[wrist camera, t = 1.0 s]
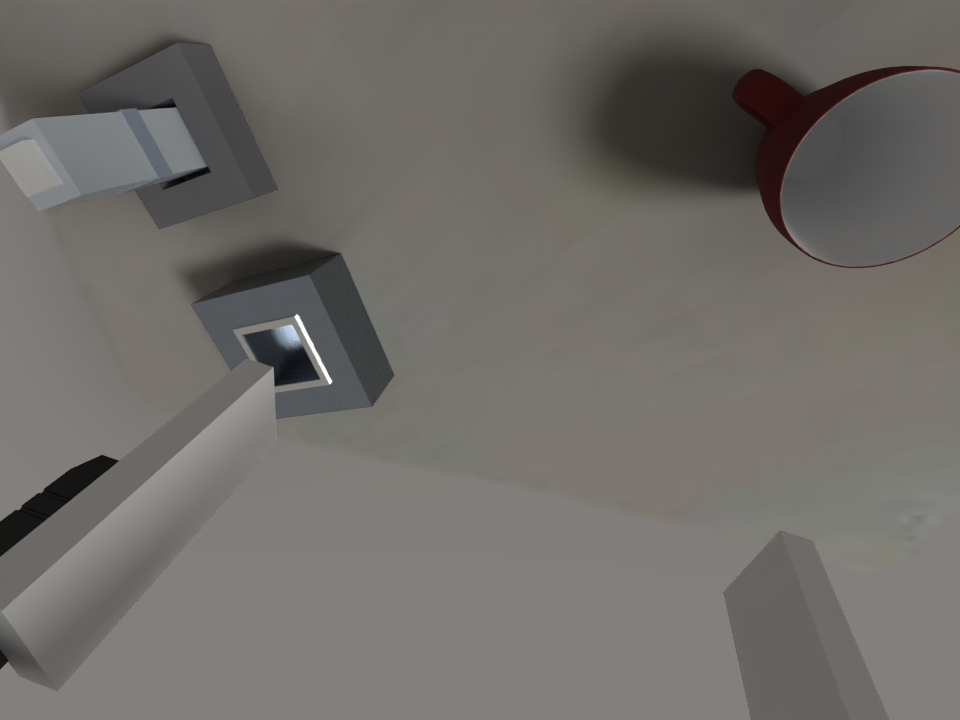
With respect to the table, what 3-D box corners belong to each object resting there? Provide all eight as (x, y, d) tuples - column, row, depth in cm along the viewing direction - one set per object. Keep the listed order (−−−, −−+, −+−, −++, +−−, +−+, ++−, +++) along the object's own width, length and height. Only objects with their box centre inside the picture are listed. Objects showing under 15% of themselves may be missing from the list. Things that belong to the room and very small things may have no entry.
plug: (157, 121, 36) (-27, 141, 26) (197, 103, 35) (20, 116, 24) (187, 177, 38) (27, 216, 28) (227, 162, 37) (74, 198, 26)
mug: (667, 159, 30) (690, 191, 22) (761, 17, 26) (833, -10, 18) (808, 238, 31) (882, 299, 22) (923, 112, 26) (1069, 130, 18)
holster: (113, 92, 36) (77, 93, 34) (210, 44, 33) (177, 42, 31) (186, 219, 41) (158, 229, 38) (277, 189, 37) (254, 197, 35)
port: (231, 281, 43) (185, 307, 38) (341, 253, 39) (304, 277, 34) (291, 390, 48) (258, 424, 44) (394, 375, 44) (369, 410, 40)
